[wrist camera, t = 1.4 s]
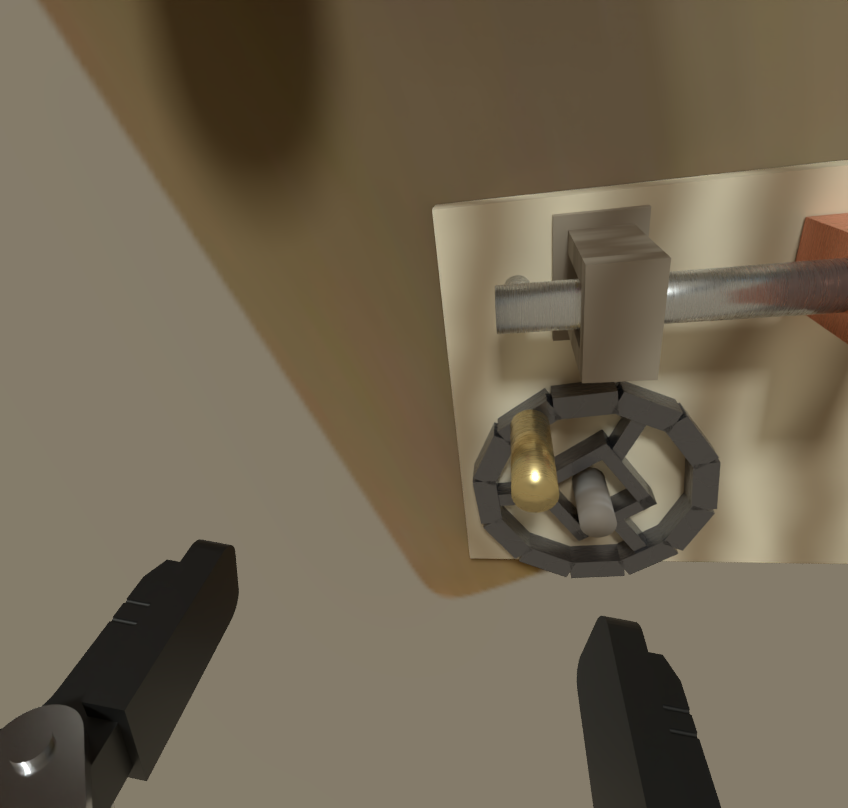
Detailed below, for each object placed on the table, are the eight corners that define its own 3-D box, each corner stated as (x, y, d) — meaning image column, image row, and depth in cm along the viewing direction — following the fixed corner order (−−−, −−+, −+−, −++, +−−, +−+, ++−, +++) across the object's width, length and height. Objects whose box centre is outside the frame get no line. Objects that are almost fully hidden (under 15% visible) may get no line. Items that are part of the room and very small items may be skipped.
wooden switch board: (1145, 127, 21) (1463, 138, 14) (937, 547, 33) (1055, 668, 26) (435, 204, 27) (410, 240, 20) (471, 543, 38) (463, 642, 31)
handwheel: (429, 457, 33) (411, 542, 27) (625, 329, 27) (661, 399, 21) (559, 586, 37) (570, 686, 31) (753, 500, 31) (816, 601, 25)
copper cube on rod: (906, 207, 23) (1077, 250, 16) (879, 295, 25) (1020, 367, 18) (495, 245, 26) (491, 295, 19) (499, 320, 28) (497, 390, 21)
